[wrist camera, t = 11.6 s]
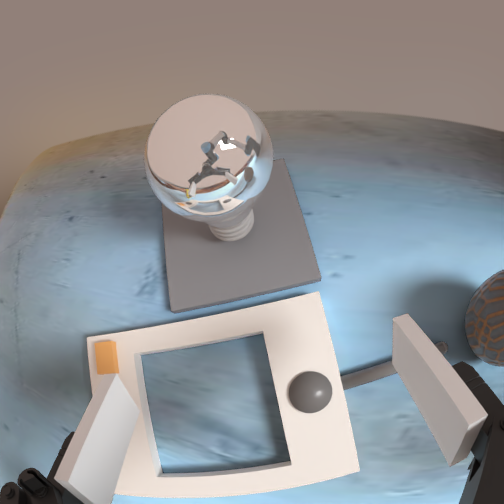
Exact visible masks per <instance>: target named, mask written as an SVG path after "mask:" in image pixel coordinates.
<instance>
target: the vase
mask: <svg viewBox="0 0 504 504" xmlns="http://www.w3.org/2000/svg"><path fill="white" fill-rule="evenodd" d="M465 331H466V337H467V340H468V343H469V345H470V347H471V349H472V351H473V352H474V353H475V355H476V356H478V357H479V358H480V359H481V360H483V361H484V362H486V363H488V364H491V365H494V366H501V367H504V270H502V271H499V272H497V273H496V274H494V275H492V276H491V277H490V278H488V279H487V280H486V281H485V282H484V283H483V284H482V285H481V286H480V287H479V288H478V289H477V291H476V292H475V294H474V295H473V297H472V299H471V301H470V303H469V306H468V308H467V312H466V317H465Z"/></svg>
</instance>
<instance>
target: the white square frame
mask: <svg viewBox="0 0 504 504" xmlns="http://www.w3.org/2000/svg"><path fill="white" fill-rule="evenodd" d="M262 333H263V334H264V338H265V343H266V348H267V353H268V357H269V362H270V367H271V371H272V376H273V381H274V385H275V390H276V395H277V399H278V404H279V408H280V413H281V418H282V422H283V427H284V431H285V436H286V441H287V445H288V450H289V454H290V459H291V461H287V462H282V463H276V464H270V465H264V466H257V467H250V468H242V469H234V470H224V471H212V472H196V473H163V471H162V467H161V463H160V459H159V455H158V451H157V446H156V441H155V437H154V432H153V427H152V422H151V417H150V411H149V406H148V400H147V394H146V388H145V381H144V374H143V367H142V360H141V355H145V354H152V353H159V352H166V351H172V350H178V349H184V348H190V347H196V346H202V345H207V344H213V343H218V342H223V341H229V340H234V339H239V338H244V337H248V336H253V335H258V334H262ZM434 345H435V346H436V348H437V349H438V350H439V351H440V352H441V354H442V355H443V354H445V353H446V352H447V350H448V345H447V343H445V342H443V341H442V342H438V343H436V344H434ZM87 348H88V360H89V370H90V379H91V387H92V395H94V393H95V391H96V389H97V387H98V386H99V384H100V382H101V380H102V378H103V376H104V374H115V373H117V375H118V376H119V378H120V380H121V381H122V383H123V385H124V386H125V388H126V390H127V391H128V393H129V395H130V396H131V398H132V399H133V401H134V402H135V404H136V406H137V407H138V409H139V410H140V413H139V416H138V419H137V422H136V425H135V428H134V431H133V434H132V437H131V440H130V443H129V446H128V449H127V453H126V456H125V459H124V462H123V465H122V469H121V472H120V475H119V479H118V482H117V485H116V489H115V492H114V494H119V495H129V496H141V497H158V498H206V497H224V496H236V495H246V494H255V493H263V492H270V491H276V490H282V489H288V488H293V487H298V486H303V485H308V484H313V483H317V482H321V481H325V480H329V479H333V478H337V477H341V476H344V475H348V474H351V473H355V472H358V471H360V469H359V463H358V458H357V453H356V448H355V442H354V437H353V432H352V428H351V423H350V418H349V413H348V409H347V404H346V399H345V395H344V390H346V389H349V388H353V387H356V386H359V385H363V384H366V383H369V382H372V381H375V380H378V379H381V378H384V377H387V376H390V375H393V374H395V373H397V371H396V369H395V368H394V366H393V364H392V360H391V361H388V362H385V363H382V364H379V365H376V366H373V367H370V368H367V369H364V370H360V371H357V372H354V373H350V374H347V375H343V376H340V373H339V369H338V365H337V360H336V356H335V352H334V348H333V344H332V340H331V336H330V332H329V328H328V324H327V320H326V317H325V313H324V309H323V305H322V301H321V298H320V294H319V291H318V292H314V293H309V294H305V295H301V296H297V297H293V298H289V299H285V300H280V301H276V302H272V303H267V304H263V305H258V306H254V307H249V308H245V309H240V310H236V311H231V312H226V313H221V314H216V315H212V316H207V317H202V318H197V319H191V320H186V321H181V322H176V323H170V324H165V325H159V326H154V327H148V328H142V329H136V330H131V331H124V332H118V333H112V334H106V335H99V336H92V337H87Z"/></svg>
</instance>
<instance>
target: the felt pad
mask: <svg viewBox="0 0 504 504" xmlns="http://www.w3.org/2000/svg"><path fill="white" fill-rule="evenodd" d="M252 209H253V214H254V224H253V227H252V229H251V230H250V232H249V233H248V234H247V235H246V236H245V237H243V238H241V239H239V240H236V241H223V240H220V239H218V238H217V237H216V236H214V234H213V233H212V232H211V230H210V228H209V226H208V224H206V223H205V222H198V221H193V220H189V219H186V218H184V217H182V216H179V215H177V214H175V213H174V212H172V211H171V210H169V209H168V208H167V207H165V206H164V205H163V203H162V216H163V231H164V245H165V257H166V268H167V279H168V288H169V297H170V306H171V311H172V312H173V313H180V312H185V311H190V310H195V309H200V308H205V307H209V306H214V305H219V304H224V303H228V302H233V301H238V300H242V299H247V298H251V297H256V296H260V295H264V294H269V293H273V292H277V291H282V290H286V289H290V288H294V287H299V286H303V285H307V284H311V283H315V282H319V281H321V275H320V271H319V268H318V264H317V261H316V257H315V254H314V251H313V247H312V244H311V241H310V238H309V234H308V231H307V228H306V225H305V221H304V218H303V215H302V212H301V209H300V206H299V203H298V200H297V196H296V193H295V190H294V187H293V184H292V181H291V178H290V175H289V172H288V170H287V167H286V164H285V161H284V158H283V159H279V160H274V161H273V169H272V173H271V176H270V179H269V181H268V184H267V186H266V188H265V190H264V191H263V193H262V195H261V196H260V197H259V198H258V199H257V200H256V202H255V203H254V204H253V207H252Z"/></svg>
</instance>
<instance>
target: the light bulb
mask: <svg viewBox="0 0 504 504" xmlns="http://www.w3.org/2000/svg"><path fill="white" fill-rule="evenodd" d="M144 166H145V172H146V177H147V180H148V182H149V184H150V187H151V189H152V191H153V193H154V194H155V195H156V197H157V198H158V199H159V200H160V201H161V202H162V203H163V205H164V206H165V207H167V208H168V209H169V210H171V211H172V212H174V213H175V214H177V215H179V216H182V217H184V218H186V219H189V220H193V221H198V222H205V223H206V224H208V226H209V228H210V230H211V232H212V233H213V234H214V236H216V237H217V238H218V239H220V240H223V241H236V240H239V239H241V238H243V237H245V236H246V235H247V234H248V233H249V232H250V230H251V229H252V227H253V224H254V214H253V209H252V207H253V204H254V203H255V202H256V200H257V199H258V198H259V197H260V196H261V195H262V193H263V191H264V190H265V188H266V186H267V184H268V181H269V179H270V176H271V173H272V169H273V147H272V143H271V139H270V135H269V132H268V131H267V129H266V127H265V125H264V123H263V122H262V120H261V118H260V117H259V116H258V115H257V114H256V113H255V112H254V111H253V110H252V109H250V108H249V107H248V106H247V105H245V104H244V103H242V102H240V101H238V100H236V99H234V98H231V97H228V96H225V95H219V94H198V95H194V96H190V97H187V98H185V99H182V100H180V101H178V102H177V103H175V104H174V105H172V106H171V107H169V108H168V109H167V110H166V111H165V112H164V113H163V114H162V115H161V116H160V117H159V118H158V119H157V120H156V122H155V123H154V125H153V127H152V129H151V131H150V133H149V135H148V138H147V140H146V145H145V152H144Z"/></svg>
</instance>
